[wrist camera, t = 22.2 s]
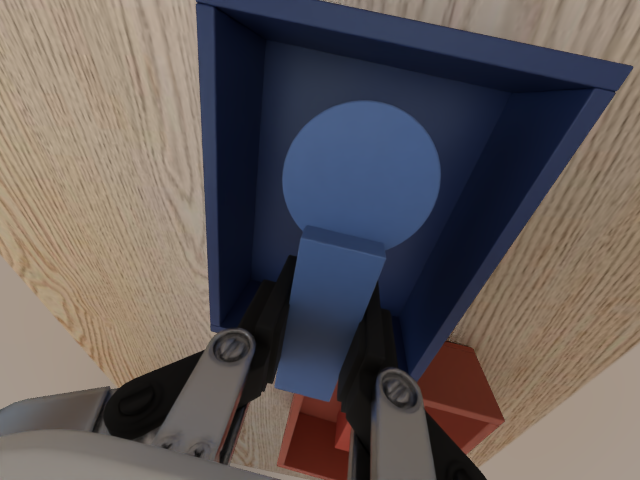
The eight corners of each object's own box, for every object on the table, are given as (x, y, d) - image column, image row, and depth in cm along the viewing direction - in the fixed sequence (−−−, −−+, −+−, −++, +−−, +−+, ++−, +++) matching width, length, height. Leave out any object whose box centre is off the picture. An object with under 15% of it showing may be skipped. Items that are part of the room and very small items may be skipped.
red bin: (401, 438, 26) (409, 504, 22) (290, 407, 27) (276, 466, 22) (473, 347, 19) (506, 421, 14) (316, 307, 19) (302, 366, 15)
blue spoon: (352, 350, 13) (350, 408, 10) (273, 330, 13) (253, 383, 11) (446, 117, 7) (489, 125, 5) (308, 87, 7) (282, 79, 5)
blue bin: (403, 319, 18) (415, 385, 14) (245, 279, 19) (210, 331, 15) (527, 80, 11) (635, 65, 7) (258, 22, 11) (193, -27, 7)
